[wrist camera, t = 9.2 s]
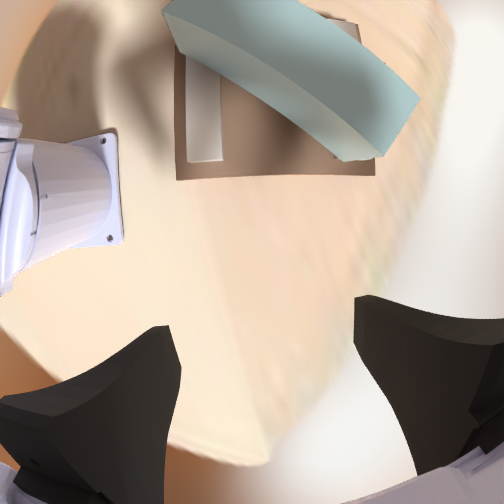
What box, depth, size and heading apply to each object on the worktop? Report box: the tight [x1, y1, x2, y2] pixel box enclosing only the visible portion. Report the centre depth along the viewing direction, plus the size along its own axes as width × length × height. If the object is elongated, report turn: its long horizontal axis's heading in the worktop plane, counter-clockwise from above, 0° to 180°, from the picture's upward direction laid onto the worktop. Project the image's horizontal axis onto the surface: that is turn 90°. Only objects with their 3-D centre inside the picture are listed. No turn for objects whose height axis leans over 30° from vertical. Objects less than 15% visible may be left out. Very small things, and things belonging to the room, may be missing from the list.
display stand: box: [174, 18, 375, 180], centre depth 16 cm, size 13×12×3 cm
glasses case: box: [161, 0, 420, 162], centre depth 12 cm, size 12×4×5 cm, turn 54°
